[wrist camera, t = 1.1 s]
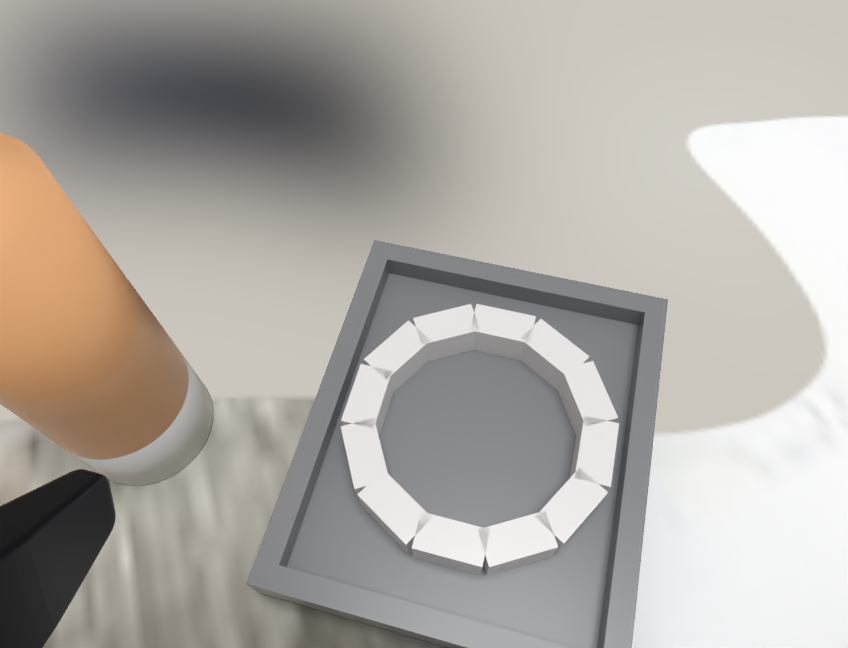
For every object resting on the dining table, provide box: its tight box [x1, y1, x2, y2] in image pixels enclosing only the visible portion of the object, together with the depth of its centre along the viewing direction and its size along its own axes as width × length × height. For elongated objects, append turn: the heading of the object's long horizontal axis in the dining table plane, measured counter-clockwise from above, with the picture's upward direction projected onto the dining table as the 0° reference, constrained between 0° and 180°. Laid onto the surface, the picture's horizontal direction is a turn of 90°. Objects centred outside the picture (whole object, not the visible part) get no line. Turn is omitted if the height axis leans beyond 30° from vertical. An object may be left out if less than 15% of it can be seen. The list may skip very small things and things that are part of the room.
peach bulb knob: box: [0, 133, 213, 486], centre depth 21 cm, size 5×5×13 cm
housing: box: [247, 241, 668, 648], centre depth 25 cm, size 14×12×2 cm
